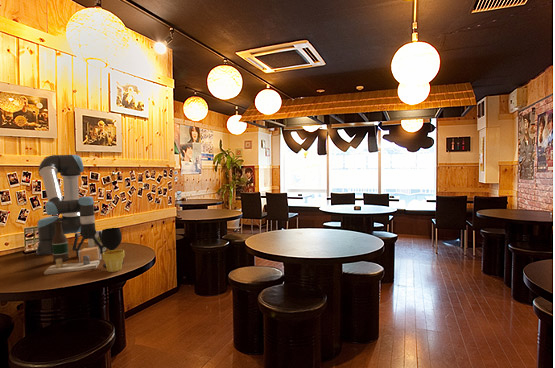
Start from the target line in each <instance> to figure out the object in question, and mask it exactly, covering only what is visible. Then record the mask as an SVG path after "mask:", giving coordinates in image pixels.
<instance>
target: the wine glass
mask: <svg viewBox="0 0 555 368" xmlns="http://www.w3.org/2000/svg"><path fill="white" fill-rule="evenodd" d="M101 231H102V233H101V241H102V244H103V245H104V246H105V247H106V250H108V251H111V250H117V248H118V247H119V246H120V245H121V243H122V239H123V235H122V231H121V228H120V227H110V228H104V229H101ZM123 264H124V261H123V262H122V265H123ZM102 267H104V268H107V267H106V264H105V263H104V264H103V265H102Z"/></svg>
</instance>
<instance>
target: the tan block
mask: <svg viewBox="0 0 555 368" xmlns="http://www.w3.org/2000/svg"><path fill="white" fill-rule="evenodd" d="M80 250H81V251H80V254H81V262H83V256H86V255H89V259H90V261H96V260H99V250H98V247H92V248H89V247H87V248H86V247H84V248H82V249H80Z"/></svg>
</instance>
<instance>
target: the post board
mask: <svg viewBox="0 0 555 368" xmlns="http://www.w3.org/2000/svg"><path fill="white" fill-rule="evenodd" d="M100 263H101V260H99V259H98V260H96V261H90V259H89V255H86V256H83V262H79V261H78V262H71V263H63V262H62V258H59V259H56V262H55V265H50V266H49V267H47V269H46V270H44V271H43V275H45V276H46V275H52V274H53V275H54V274H61V273H70V272H79V271H87V270H93V269H97V267H99V264H100Z"/></svg>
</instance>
